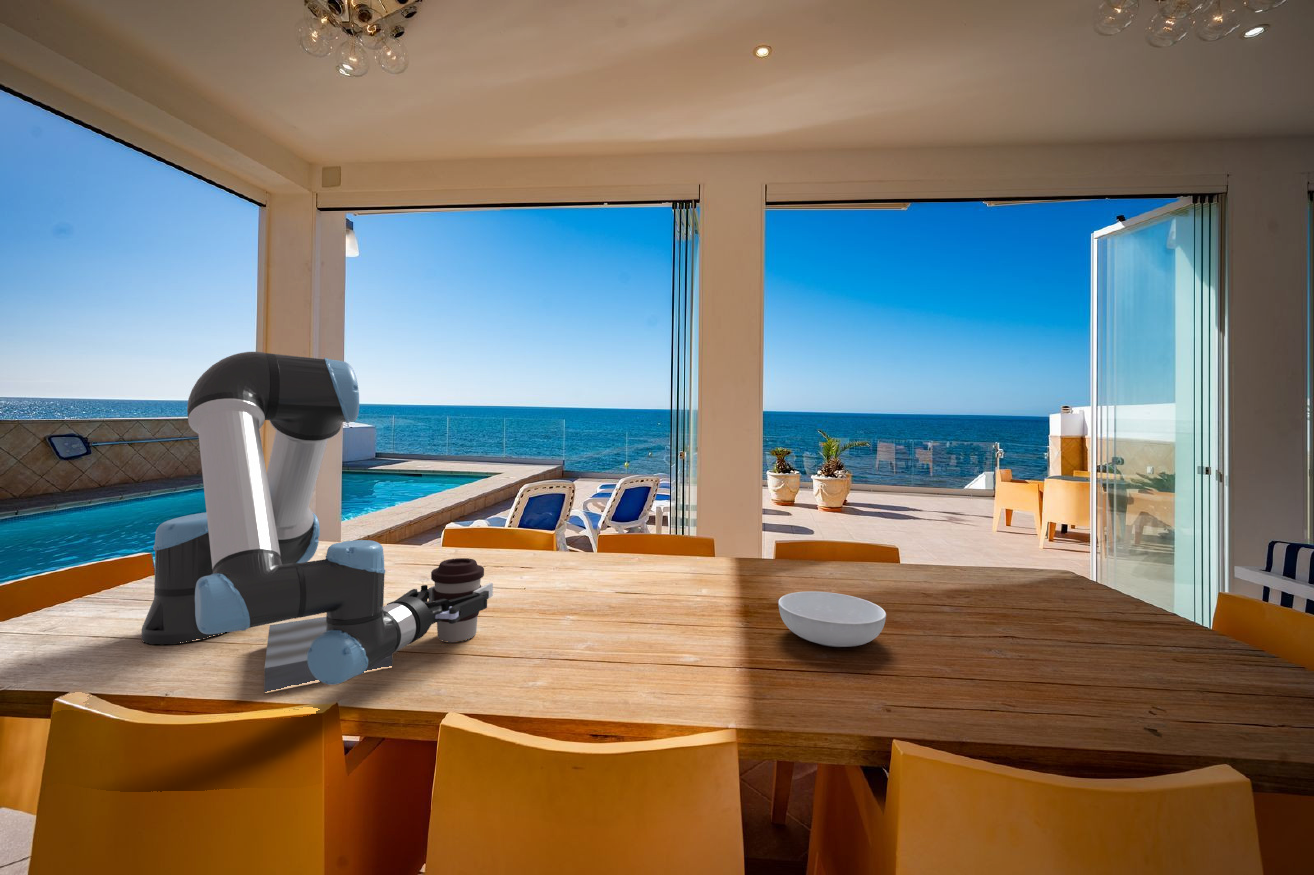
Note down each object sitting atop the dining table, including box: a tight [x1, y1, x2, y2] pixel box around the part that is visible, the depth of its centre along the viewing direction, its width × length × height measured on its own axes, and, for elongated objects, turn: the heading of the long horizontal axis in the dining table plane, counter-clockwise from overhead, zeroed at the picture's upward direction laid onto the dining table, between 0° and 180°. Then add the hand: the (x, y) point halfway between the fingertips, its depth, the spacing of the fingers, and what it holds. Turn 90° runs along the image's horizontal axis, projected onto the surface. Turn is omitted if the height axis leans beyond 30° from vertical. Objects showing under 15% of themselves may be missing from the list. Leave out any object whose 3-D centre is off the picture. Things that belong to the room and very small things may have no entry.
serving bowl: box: [777, 590, 887, 648], centre depth 111 cm, size 21×21×7 cm
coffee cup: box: [430, 557, 485, 643], centre depth 109 cm, size 10×10×15 cm
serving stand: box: [263, 616, 394, 693], centre depth 98 cm, size 22×18×4 cm
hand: (469, 587), depth 113 cm, fingers closed on coffee cup, 9 cm apart
